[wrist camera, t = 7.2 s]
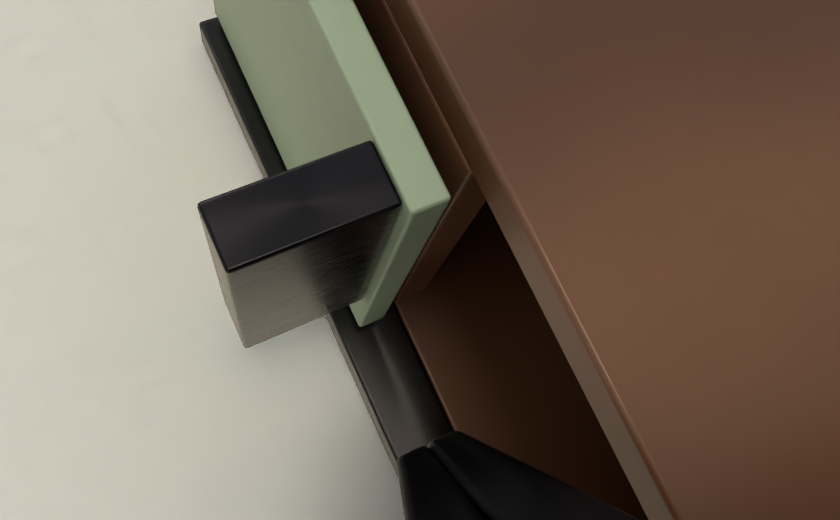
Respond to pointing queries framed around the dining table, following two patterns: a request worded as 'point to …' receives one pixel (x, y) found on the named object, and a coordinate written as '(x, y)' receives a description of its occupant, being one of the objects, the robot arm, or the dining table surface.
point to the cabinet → (615, 246)
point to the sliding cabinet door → (320, 173)
